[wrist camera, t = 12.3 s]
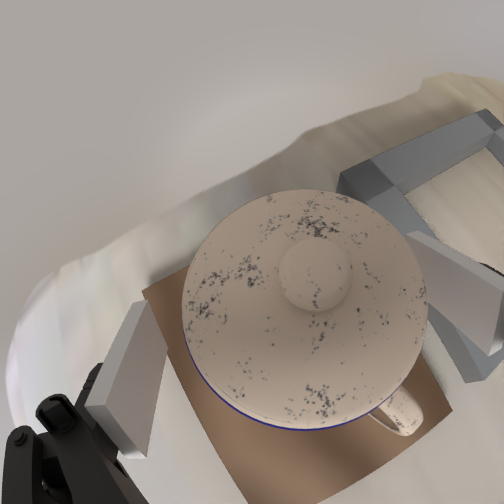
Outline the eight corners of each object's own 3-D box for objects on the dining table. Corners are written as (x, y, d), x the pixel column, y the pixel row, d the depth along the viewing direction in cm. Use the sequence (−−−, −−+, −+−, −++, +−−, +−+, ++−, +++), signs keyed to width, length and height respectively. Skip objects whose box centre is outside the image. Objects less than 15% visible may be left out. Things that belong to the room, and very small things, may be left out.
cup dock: (478, 122, 27) (486, 108, 25) (571, 240, 19) (584, 229, 17) (336, 192, 24) (340, 172, 22) (465, 383, 17) (484, 380, 14)
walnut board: (314, 209, 24) (315, 200, 22) (444, 410, 16) (452, 410, 15) (148, 295, 22) (141, 290, 21) (265, 519, 14) (263, 526, 13)
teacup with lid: (194, 333, 19) (95, 260, 9) (299, 243, 21) (307, 104, 10) (324, 470, 15) (374, 565, 4) (426, 365, 17) (555, 324, 6)
